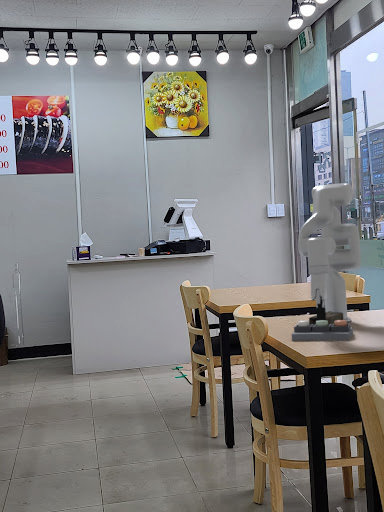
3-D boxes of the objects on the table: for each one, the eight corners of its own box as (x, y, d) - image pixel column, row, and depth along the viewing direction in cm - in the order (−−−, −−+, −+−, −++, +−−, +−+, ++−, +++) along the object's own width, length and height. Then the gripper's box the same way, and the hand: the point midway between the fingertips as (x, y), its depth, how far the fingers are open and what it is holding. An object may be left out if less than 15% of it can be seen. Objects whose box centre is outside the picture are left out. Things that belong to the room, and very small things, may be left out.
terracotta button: (335, 325, 242) (335, 320, 242) (347, 325, 240) (347, 319, 240) (334, 327, 238) (333, 321, 238) (346, 327, 236) (345, 321, 236)
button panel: (298, 334, 252) (298, 322, 252) (352, 333, 244) (352, 322, 244) (291, 340, 239) (291, 328, 238) (348, 340, 231) (348, 328, 231)
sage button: (317, 325, 244) (316, 320, 244) (328, 325, 243) (328, 320, 243) (315, 327, 240) (315, 322, 240) (327, 327, 238) (326, 322, 238)
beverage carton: (344, 326, 265) (343, 310, 265) (327, 334, 249) (326, 317, 249) (326, 325, 270) (325, 310, 269) (308, 333, 254) (307, 317, 254)
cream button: (299, 325, 247) (298, 320, 247) (310, 325, 245) (310, 320, 245) (297, 327, 243) (296, 322, 242) (308, 327, 241) (308, 322, 241)
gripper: (312, 269, 249) (314, 315, 249) (305, 272, 235) (308, 321, 235) (331, 268, 246) (334, 315, 247) (325, 271, 232) (328, 320, 233)
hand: (321, 318), depth 241 cm, fingers closed
